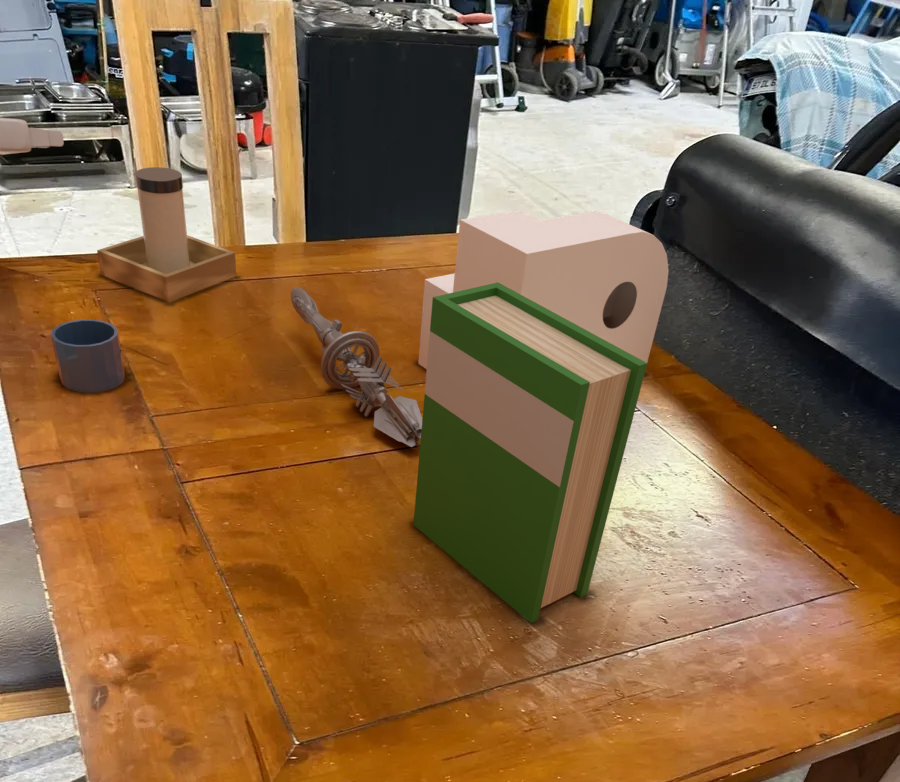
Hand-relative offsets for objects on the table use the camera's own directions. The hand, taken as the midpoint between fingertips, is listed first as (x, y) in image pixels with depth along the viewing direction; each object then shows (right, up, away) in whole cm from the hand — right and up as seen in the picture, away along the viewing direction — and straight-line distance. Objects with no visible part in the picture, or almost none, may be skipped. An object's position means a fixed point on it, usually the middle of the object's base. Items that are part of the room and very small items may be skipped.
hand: (55, 139), depth 119 cm
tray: (+12, -15, +11) cm, 22 cm away
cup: (+10, -36, -13) cm, 39 cm away
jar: (+12, -14, +11) cm, 22 cm away
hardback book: (+58, -58, -32) cm, 88 cm away
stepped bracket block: (+65, -31, 0) cm, 72 cm away
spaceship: (+41, -36, -9) cm, 55 cm away
